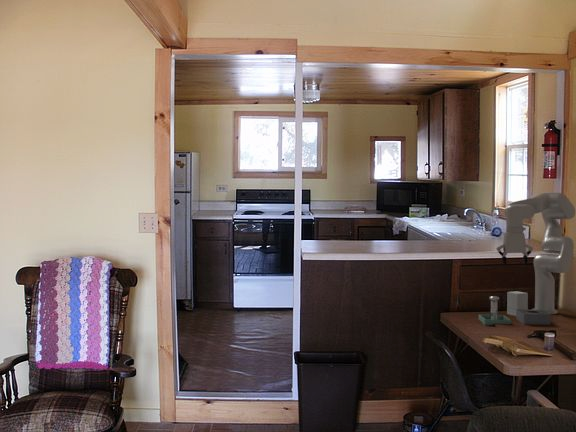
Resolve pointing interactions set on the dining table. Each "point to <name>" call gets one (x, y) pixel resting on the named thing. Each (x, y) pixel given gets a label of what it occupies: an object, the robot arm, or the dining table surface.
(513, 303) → the supplement box
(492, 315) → the pin
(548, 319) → the socket block
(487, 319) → the tray
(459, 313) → the dining table surface
